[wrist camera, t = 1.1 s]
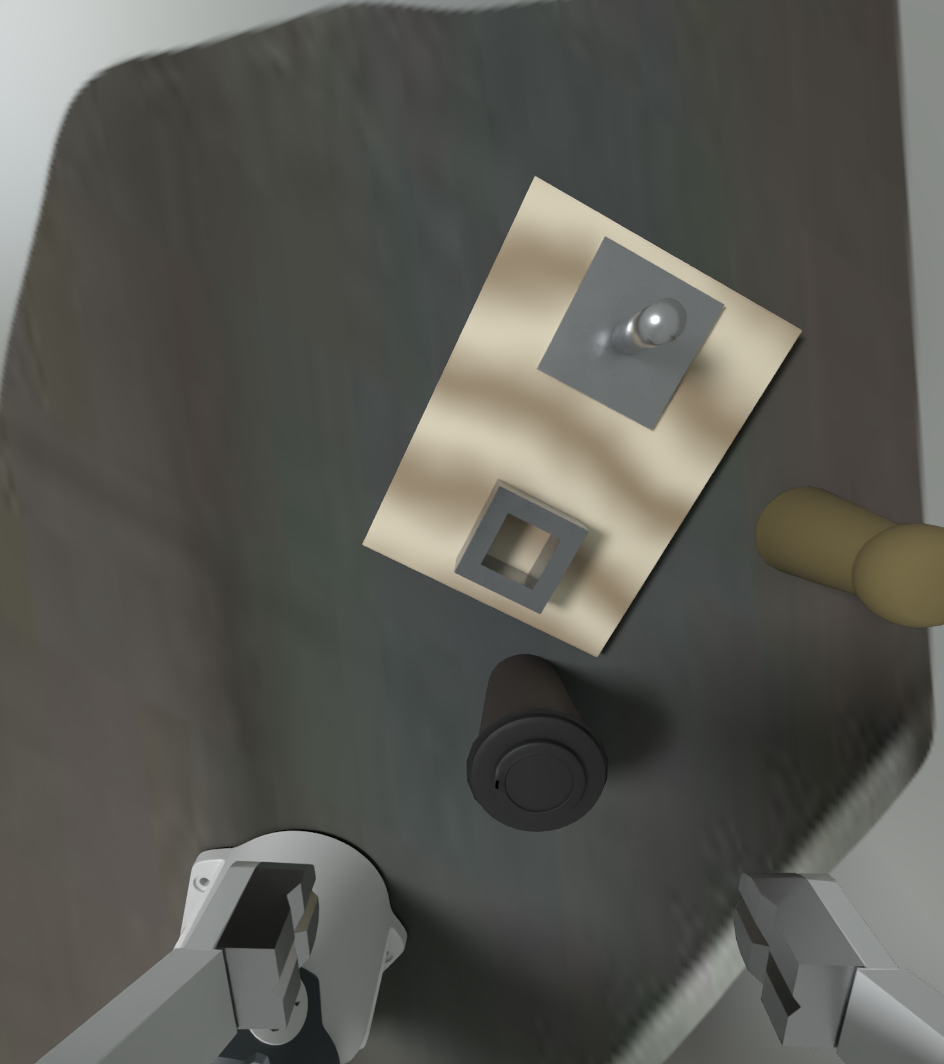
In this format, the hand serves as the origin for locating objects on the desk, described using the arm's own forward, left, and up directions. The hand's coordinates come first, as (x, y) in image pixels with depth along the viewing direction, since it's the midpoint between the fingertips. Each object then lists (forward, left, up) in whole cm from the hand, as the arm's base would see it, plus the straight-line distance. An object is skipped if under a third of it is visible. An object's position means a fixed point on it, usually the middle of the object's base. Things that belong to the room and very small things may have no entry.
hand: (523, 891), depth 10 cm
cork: (+10, -18, -26) cm, 33 cm away
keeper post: (+15, -1, -25) cm, 29 cm away
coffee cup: (-9, -7, -26) cm, 28 cm away
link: (+1, -1, -25) cm, 25 cm away
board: (+8, -1, -26) cm, 27 cm away
